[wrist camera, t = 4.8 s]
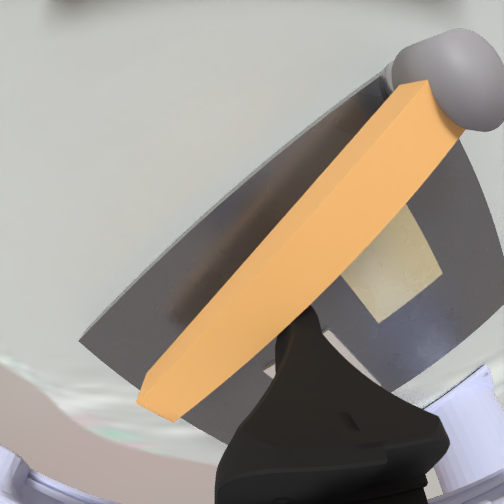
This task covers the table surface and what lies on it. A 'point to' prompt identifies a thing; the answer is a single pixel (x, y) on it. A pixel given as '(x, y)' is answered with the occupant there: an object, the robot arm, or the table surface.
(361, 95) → the panel
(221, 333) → the swing arm
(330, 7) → the table surface
